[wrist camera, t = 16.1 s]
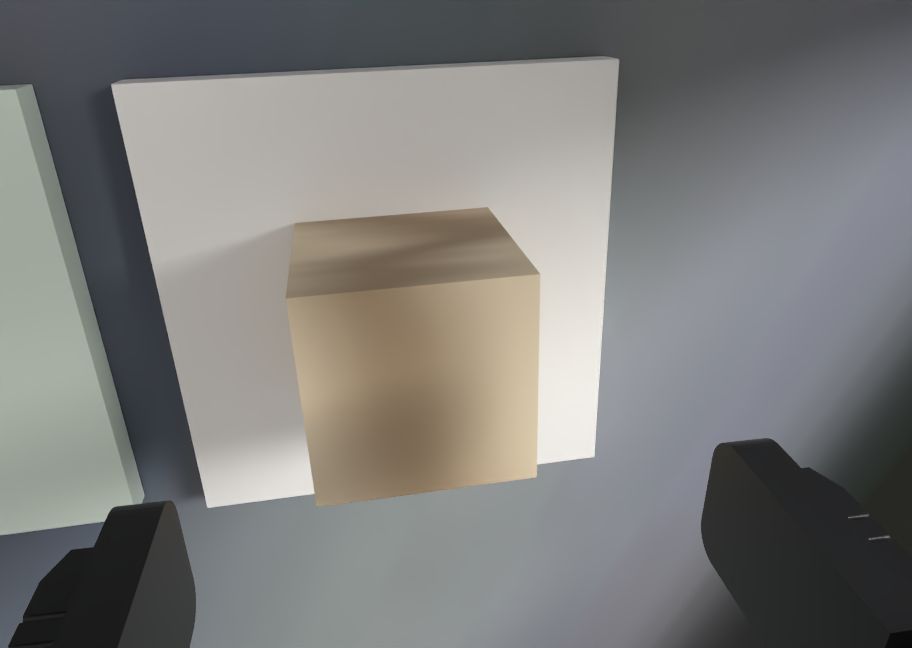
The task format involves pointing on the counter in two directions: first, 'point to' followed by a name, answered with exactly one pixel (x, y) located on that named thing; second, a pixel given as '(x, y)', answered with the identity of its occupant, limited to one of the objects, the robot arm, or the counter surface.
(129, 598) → the robot arm
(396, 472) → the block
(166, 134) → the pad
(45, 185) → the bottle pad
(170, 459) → the counter surface
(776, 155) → the counter surface
